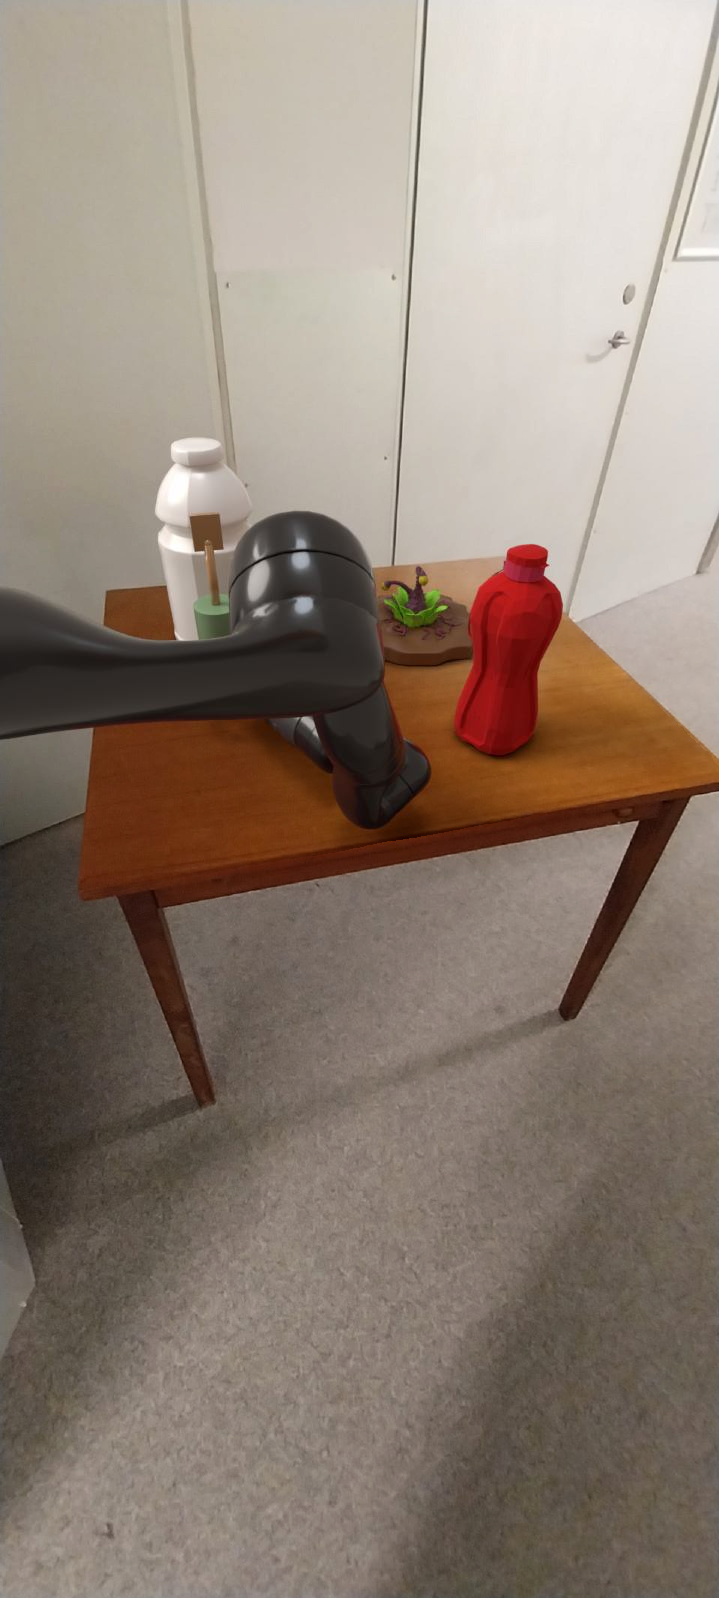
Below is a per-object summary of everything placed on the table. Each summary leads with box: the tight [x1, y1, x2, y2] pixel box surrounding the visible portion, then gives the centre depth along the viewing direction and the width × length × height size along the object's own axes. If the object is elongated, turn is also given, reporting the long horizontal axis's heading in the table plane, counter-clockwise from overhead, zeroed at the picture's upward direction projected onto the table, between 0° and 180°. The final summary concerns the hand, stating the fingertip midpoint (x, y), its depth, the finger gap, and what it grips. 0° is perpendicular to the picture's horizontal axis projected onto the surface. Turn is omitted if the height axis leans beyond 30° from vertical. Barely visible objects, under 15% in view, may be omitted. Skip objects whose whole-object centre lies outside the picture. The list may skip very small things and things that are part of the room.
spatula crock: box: [189, 512, 230, 640], centre depth 88 cm, size 6×6×24 cm
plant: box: [377, 565, 473, 666], centre depth 103 cm, size 20×20×11 cm
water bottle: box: [453, 543, 564, 756], centre depth 80 cm, size 9×11×25 cm
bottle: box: [154, 436, 254, 640], centre depth 95 cm, size 14×14×28 cm
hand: (232, 651), depth 89 cm, fingers open, 8 cm apart
